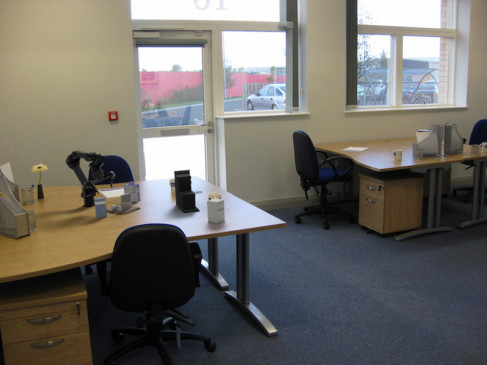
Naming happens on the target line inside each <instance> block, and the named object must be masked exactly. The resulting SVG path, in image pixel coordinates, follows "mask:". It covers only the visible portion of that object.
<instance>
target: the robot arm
mask: <svg viewBox="0 0 487 365" xmlns="http://www.w3.org/2000/svg"><path fill="white" fill-rule="evenodd" d="M82 159H84V161H85V162H89V163H88V168H90V169H91V172H92V174H91V176H92V178H93V180H88V178H87V177H86V175H85V173H84V170H82V168H81V166H80V164H81V160H82ZM106 162H107V159H106V157H105V156H104V155H102V154H101V153H98V154H97V152H95V151H93V152H92V151H91V152H87V151H86V152H85V151H81V150H73V151H72V152H71V153H70V154H69V155H68V156H67V157H66V158H65V164H66V166H67V167H68V169H71V170H72V171H73V172H74V174H75V176H76V178H77V179H78V181H79V182H80V185H81V193H80V197H81V198H82V199H83V205H82V207H89V208H90V207H95V201H94V199H95V198H94V197H96V195H97V194H98V195H100V192H99V190H98V188H97V185H95V184H97V183H100V182H101V181H103V180H104V181H105V180H106V179H107V180H108V182H109V185H110V188H111V189H113V180H114V179H115V177H116V174H115V172H114V171H109V172H107V173H106V175H104V171H103V169H102V168H101V167H102V166H103V165H104V164H105V163H106Z"/></svg>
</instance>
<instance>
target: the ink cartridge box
mask: <svg viewBox="0 0 487 365" xmlns="http://www.w3.org/2000/svg"><path fill="white" fill-rule="evenodd" d="M140 191H141V190H140V183H135V180H129V183H125V184H124V185H123V194H126V193H130V198H131V203H138V202H140V201H141V192H140Z"/></svg>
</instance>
